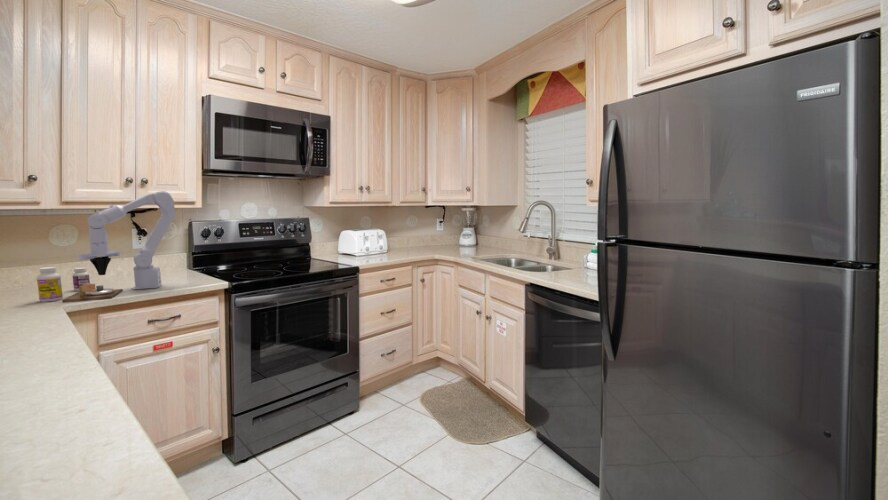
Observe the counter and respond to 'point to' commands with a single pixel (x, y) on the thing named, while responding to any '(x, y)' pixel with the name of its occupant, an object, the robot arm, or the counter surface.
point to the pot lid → (96, 290)
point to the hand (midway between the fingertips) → (102, 274)
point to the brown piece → (83, 297)
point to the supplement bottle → (49, 285)
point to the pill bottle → (80, 278)
